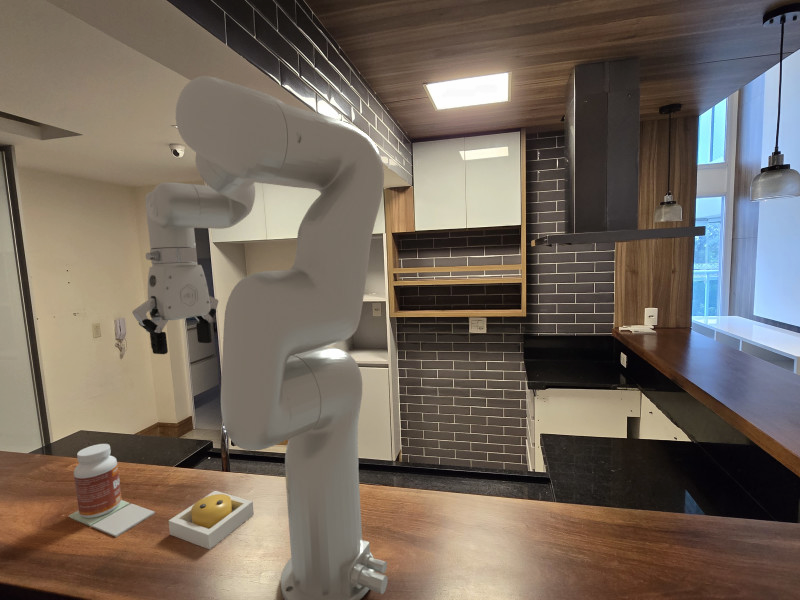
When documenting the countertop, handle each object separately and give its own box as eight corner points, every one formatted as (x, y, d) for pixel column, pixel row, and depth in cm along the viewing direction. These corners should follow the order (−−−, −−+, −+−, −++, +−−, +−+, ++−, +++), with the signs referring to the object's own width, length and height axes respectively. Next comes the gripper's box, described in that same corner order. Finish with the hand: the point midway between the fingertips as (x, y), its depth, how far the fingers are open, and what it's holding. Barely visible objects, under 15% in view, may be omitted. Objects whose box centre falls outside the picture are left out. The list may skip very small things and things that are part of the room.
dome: (240, 515, 69) (238, 497, 69) (210, 537, 64) (208, 518, 63) (215, 507, 71) (213, 490, 71) (184, 528, 66) (182, 510, 66)
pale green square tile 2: (129, 504, 74) (129, 502, 74) (90, 526, 68) (90, 524, 68) (108, 496, 77) (108, 495, 77) (68, 517, 71) (68, 515, 71)
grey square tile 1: (155, 513, 71) (154, 511, 71) (116, 537, 65) (115, 535, 65) (131, 505, 74) (131, 503, 74) (92, 527, 68) (92, 525, 68)
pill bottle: (125, 508, 72) (118, 448, 71) (81, 524, 68) (73, 461, 67) (118, 494, 77) (112, 438, 76) (77, 509, 73) (69, 450, 72)
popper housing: (253, 514, 70) (252, 501, 69) (209, 549, 62) (208, 534, 61) (216, 502, 74) (215, 490, 73) (170, 534, 65) (168, 520, 65)
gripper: (143, 258, 67) (154, 359, 69) (225, 257, 83) (233, 339, 84) (114, 260, 70) (125, 357, 72) (199, 258, 86) (207, 338, 87)
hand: (183, 347), depth 78 cm, fingers open, 9 cm apart
